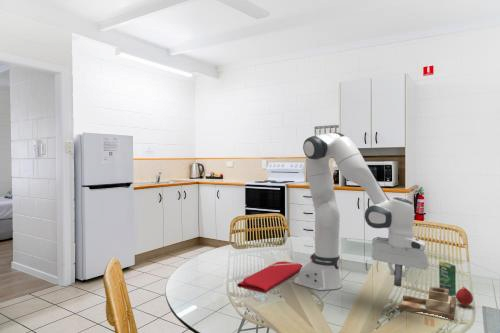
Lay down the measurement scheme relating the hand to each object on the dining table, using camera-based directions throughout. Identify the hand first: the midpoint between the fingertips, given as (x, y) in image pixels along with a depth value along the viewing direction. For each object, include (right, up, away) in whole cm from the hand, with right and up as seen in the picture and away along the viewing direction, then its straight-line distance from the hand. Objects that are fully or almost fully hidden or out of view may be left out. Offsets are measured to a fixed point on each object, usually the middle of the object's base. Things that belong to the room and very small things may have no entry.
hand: (398, 275), depth 139 cm
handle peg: (0, -4, 0) cm, 4 cm away
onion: (+30, -15, +6) cm, 34 cm away
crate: (+16, -14, +1) cm, 21 cm away
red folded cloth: (-46, -14, +42) cm, 64 cm away
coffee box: (+31, -14, +22) cm, 41 cm away
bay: (+12, -14, +3) cm, 19 cm away
